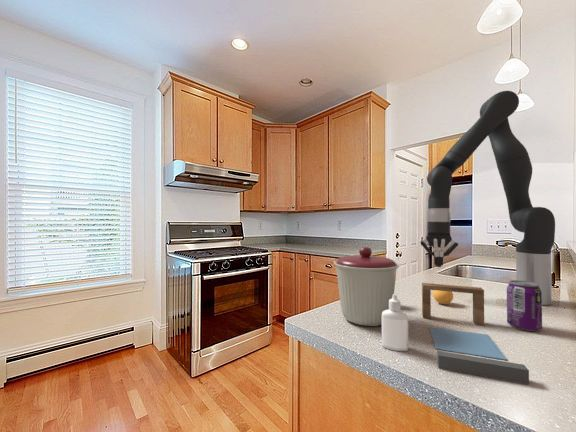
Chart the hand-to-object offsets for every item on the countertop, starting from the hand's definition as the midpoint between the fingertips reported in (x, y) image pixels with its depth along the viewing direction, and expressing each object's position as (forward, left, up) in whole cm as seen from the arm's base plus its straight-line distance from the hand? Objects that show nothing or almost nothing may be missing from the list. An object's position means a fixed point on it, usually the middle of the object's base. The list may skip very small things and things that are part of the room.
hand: (438, 266), depth 102 cm
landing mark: (+40, 0, -11) cm, 42 cm away
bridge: (+25, 0, -11) cm, 28 cm away
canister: (+34, -23, -11) cm, 43 cm away
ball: (+9, 0, -8) cm, 12 cm away
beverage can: (+24, +17, -11) cm, 32 cm away
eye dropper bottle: (+49, -15, -11) cm, 53 cm away
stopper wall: (+54, 0, -11) cm, 56 cm away
